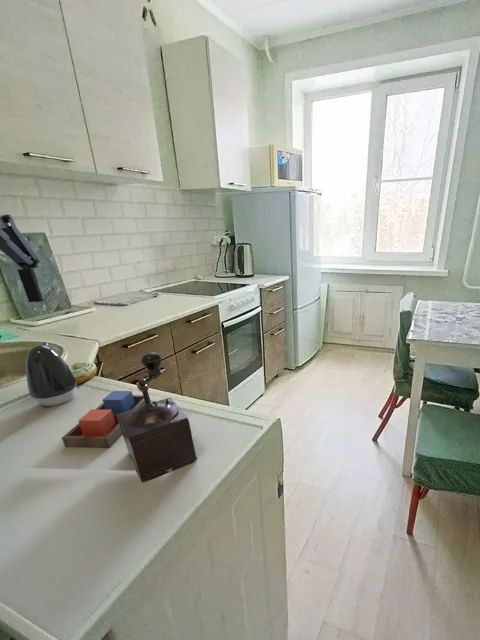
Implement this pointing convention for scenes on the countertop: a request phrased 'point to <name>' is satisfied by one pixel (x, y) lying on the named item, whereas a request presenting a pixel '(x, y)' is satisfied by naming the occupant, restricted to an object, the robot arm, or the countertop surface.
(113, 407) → the slate-blue block
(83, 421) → the terracotta block
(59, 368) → the black tapered dome
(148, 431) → the manual coffee grinder
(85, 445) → the tray
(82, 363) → the decorated donut
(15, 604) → the countertop surface
